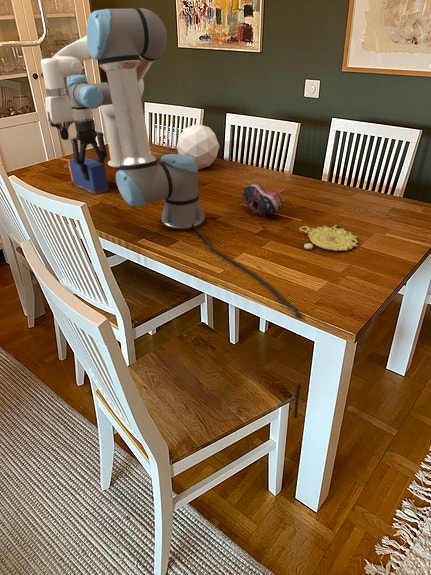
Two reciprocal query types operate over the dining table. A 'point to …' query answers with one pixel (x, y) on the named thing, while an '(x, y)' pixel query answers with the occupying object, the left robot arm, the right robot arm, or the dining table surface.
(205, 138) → the sphere
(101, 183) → the cabinet
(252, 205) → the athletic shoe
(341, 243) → the decorative object
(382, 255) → the dining table surface
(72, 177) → the drawer
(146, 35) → the right robot arm
